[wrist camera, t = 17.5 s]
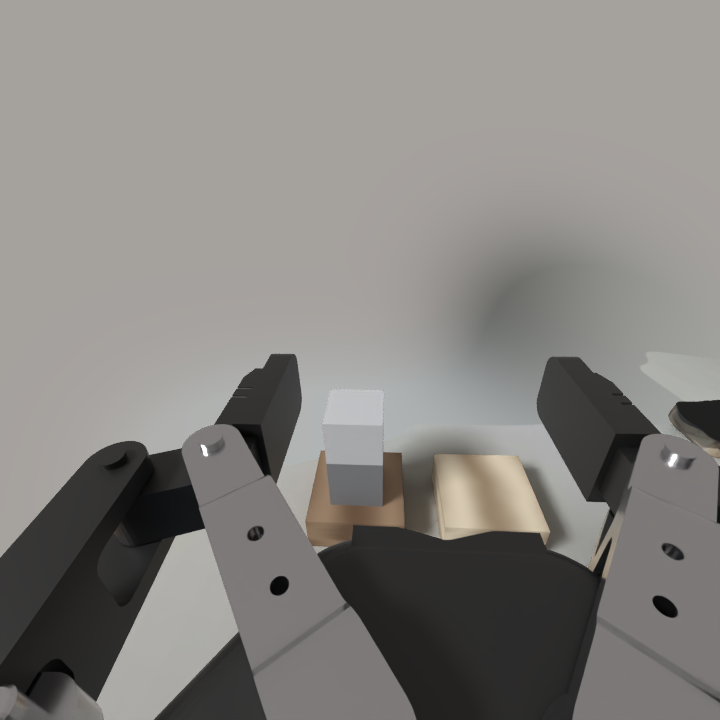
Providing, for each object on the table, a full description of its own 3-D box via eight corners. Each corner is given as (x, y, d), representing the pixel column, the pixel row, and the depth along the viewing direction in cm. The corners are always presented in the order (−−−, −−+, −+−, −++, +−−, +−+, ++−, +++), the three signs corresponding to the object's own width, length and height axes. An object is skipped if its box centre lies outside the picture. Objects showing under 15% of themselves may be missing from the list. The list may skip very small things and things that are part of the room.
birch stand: (512, 479, 46) (518, 456, 44) (541, 556, 37) (550, 531, 35) (432, 476, 47) (434, 453, 45) (442, 551, 38) (445, 527, 36)
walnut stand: (400, 475, 47) (401, 452, 45) (403, 549, 38) (404, 525, 36) (323, 473, 48) (320, 450, 46) (309, 545, 39) (305, 521, 37)
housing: (383, 466, 43) (383, 390, 37) (382, 506, 38) (382, 425, 33) (336, 465, 43) (330, 389, 38) (330, 504, 39) (322, 424, 33)
